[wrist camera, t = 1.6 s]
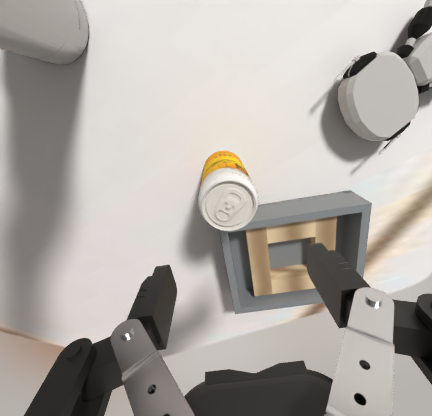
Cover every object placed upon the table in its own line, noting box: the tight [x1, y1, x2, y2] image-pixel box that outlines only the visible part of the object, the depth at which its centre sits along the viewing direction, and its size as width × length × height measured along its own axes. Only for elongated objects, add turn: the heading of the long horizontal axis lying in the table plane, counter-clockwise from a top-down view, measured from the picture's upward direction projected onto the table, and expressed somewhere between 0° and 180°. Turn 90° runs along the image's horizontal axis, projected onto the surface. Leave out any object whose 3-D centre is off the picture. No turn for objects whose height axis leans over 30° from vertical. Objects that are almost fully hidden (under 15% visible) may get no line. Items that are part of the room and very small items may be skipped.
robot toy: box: [334, 0, 432, 155], centre depth 29 cm, size 12×4×15 cm
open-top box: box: [219, 191, 372, 314], centre depth 38 cm, size 22×18×6 cm
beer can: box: [198, 151, 259, 231], centre depth 28 cm, size 6×6×15 cm
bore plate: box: [245, 216, 337, 296], centre depth 38 cm, size 14×14×3 cm
